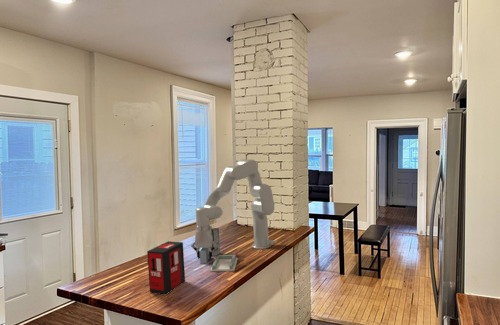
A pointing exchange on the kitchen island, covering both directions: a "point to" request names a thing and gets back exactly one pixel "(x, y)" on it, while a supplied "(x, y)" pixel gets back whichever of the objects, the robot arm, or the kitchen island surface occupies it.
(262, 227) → the robot arm
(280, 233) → the kitchen island surface
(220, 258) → the grey tray
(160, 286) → the cleaning product box
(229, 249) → the kitchen island surface
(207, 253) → the pale grey cuboid block
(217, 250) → the coffee box
